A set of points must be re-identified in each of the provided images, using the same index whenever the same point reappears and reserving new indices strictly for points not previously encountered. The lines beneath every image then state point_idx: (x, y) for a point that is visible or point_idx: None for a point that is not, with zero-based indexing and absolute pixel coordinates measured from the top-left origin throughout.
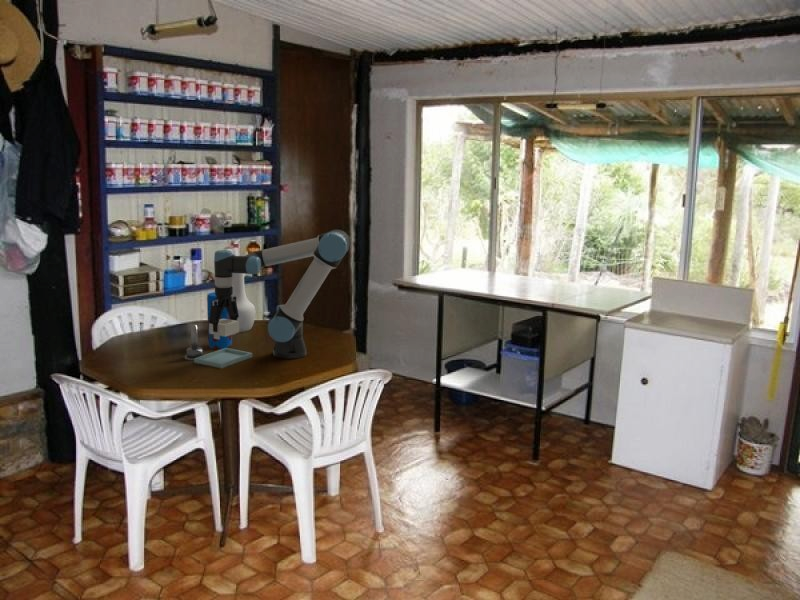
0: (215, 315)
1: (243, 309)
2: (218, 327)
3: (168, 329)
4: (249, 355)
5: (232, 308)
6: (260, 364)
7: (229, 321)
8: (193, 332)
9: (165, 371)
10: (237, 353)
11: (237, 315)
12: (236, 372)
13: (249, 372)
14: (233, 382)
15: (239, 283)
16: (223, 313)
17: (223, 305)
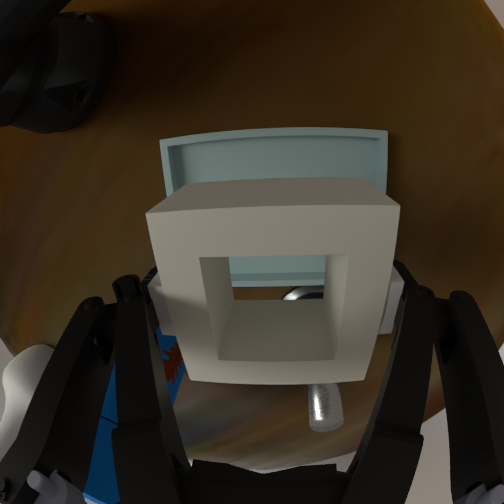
0: (484, 354)
1: (25, 387)
2: (393, 268)
3: None
4: (181, 136)
5: (94, 401)
6: (227, 34)
7: (208, 300)
8: (339, 390)
9: (468, 276)
10: None
11: (89, 309)
12: (380, 47)
13: (346, 5)
14: (454, 11)
15: (2, 446)
16: (109, 416)
17: (383, 501)
